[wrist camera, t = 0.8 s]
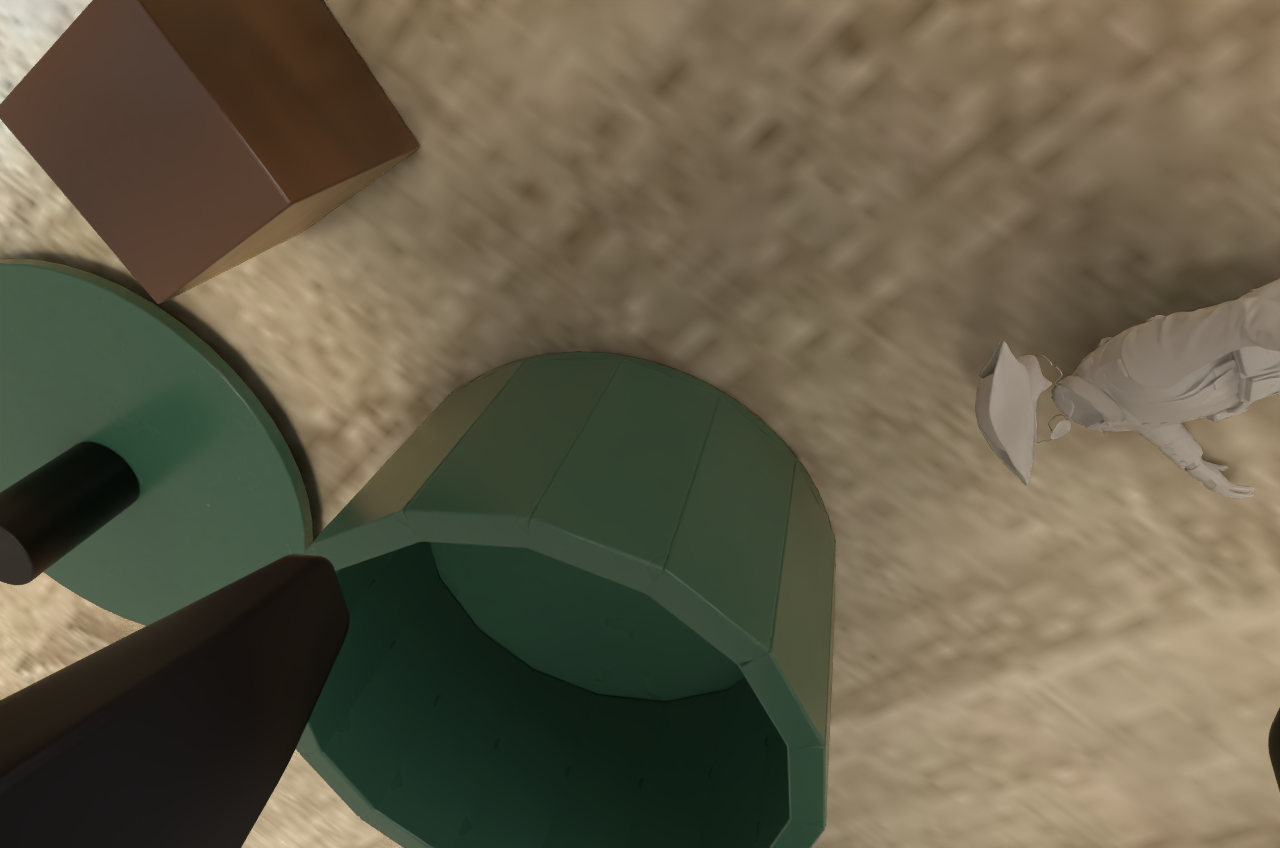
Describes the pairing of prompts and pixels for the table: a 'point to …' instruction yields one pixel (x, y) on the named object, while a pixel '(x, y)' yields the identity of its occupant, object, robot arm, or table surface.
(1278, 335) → the soldier figure
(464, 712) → the tin
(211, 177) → the block
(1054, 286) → the table surface
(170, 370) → the lid
